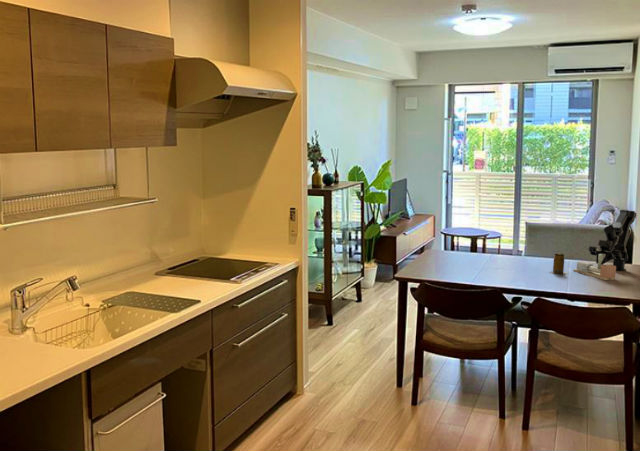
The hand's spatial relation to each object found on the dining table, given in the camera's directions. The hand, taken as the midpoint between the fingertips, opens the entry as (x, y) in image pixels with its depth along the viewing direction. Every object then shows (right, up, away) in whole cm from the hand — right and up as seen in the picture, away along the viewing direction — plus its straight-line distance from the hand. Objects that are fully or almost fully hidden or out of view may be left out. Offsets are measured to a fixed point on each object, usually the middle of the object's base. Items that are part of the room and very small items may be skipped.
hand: (599, 263), depth 374 cm
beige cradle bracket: (0, -6, +3) cm, 7 cm away
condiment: (-20, -7, +10) cm, 23 cm away
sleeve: (-3, -5, +13) cm, 14 cm away
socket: (+3, -8, -4) cm, 9 cm away
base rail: (-1, -7, +6) cm, 9 cm away
